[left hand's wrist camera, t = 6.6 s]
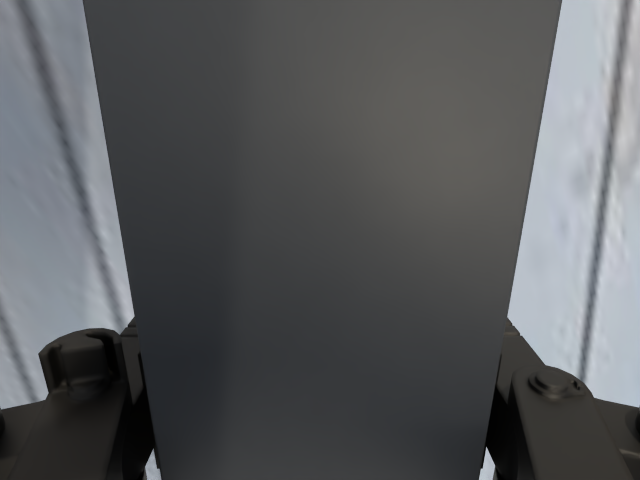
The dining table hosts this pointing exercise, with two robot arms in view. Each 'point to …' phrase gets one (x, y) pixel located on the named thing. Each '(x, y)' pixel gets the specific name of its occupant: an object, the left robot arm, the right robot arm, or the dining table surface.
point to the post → (321, 223)
